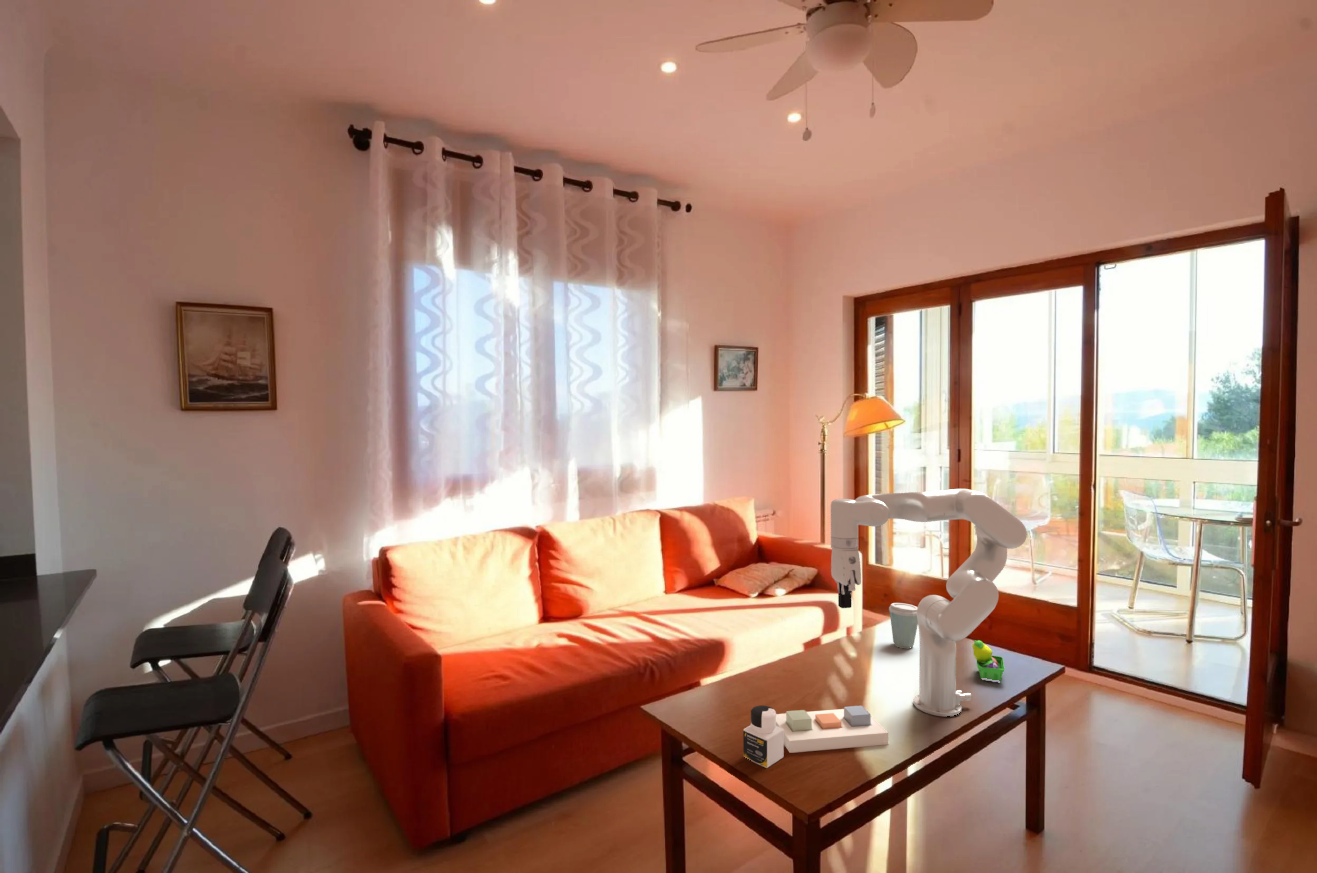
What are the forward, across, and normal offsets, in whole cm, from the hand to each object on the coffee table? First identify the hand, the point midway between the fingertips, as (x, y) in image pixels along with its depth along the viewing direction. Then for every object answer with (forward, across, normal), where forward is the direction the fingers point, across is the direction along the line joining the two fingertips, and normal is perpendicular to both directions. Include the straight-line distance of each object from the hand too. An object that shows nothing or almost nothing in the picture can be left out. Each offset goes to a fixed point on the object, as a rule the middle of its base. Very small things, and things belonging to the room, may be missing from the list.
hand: (844, 607), depth 179 cm
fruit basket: (+30, +13, -54) cm, 63 cm away
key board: (+29, -14, +11) cm, 34 cm away
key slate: (+27, -14, +3) cm, 31 cm away
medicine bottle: (+29, -22, +31) cm, 48 cm away
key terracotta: (+28, -14, +11) cm, 34 cm away
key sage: (+27, -14, +19) cm, 36 cm away
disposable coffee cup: (+29, +42, -42) cm, 66 cm away
